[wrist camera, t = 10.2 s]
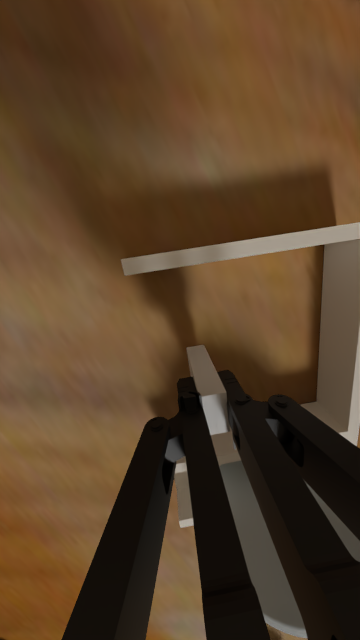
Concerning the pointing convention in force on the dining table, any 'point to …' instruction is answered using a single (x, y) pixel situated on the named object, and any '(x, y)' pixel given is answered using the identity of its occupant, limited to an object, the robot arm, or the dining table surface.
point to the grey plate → (271, 550)
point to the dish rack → (335, 329)
